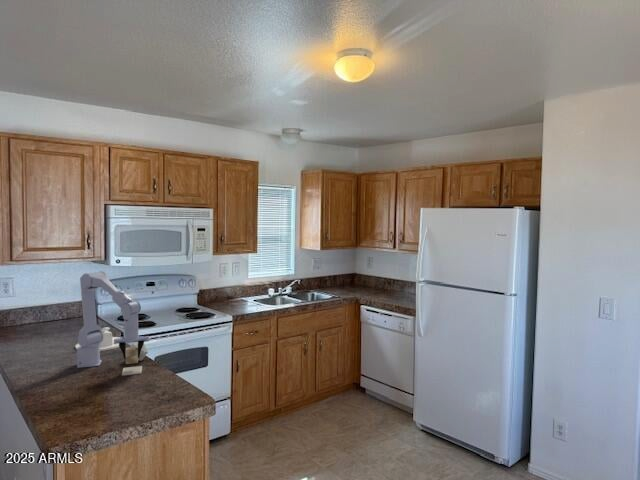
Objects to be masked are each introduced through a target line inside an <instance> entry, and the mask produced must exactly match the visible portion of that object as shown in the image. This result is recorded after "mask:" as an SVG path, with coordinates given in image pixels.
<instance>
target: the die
mask: <svg viewBox="0 0 640 480" xmlns="http://www.w3.org/2000/svg"><path fill="white" fill-rule="evenodd" d="M129 347H138V342H132V343H131V345H130V346H129ZM148 353H149V351H148V349H147V348H146V344H145V343H144V344H143V347H142V349H141V352H140V358H138V362H142V361H143V360H144V358H145V357H146V356H147V354H148Z"/></svg>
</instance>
